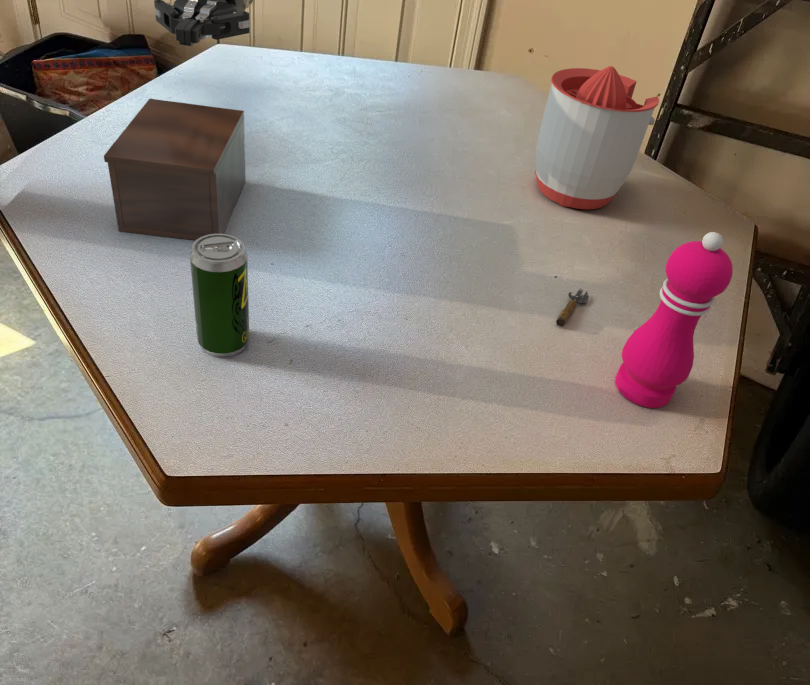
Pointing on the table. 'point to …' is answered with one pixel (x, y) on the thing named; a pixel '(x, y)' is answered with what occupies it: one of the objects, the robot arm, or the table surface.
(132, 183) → the chest
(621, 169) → the citrus juicer
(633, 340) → the pepper mill
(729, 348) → the table surface
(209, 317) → the beer can
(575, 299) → the can opener
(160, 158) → the lid
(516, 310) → the table surface
